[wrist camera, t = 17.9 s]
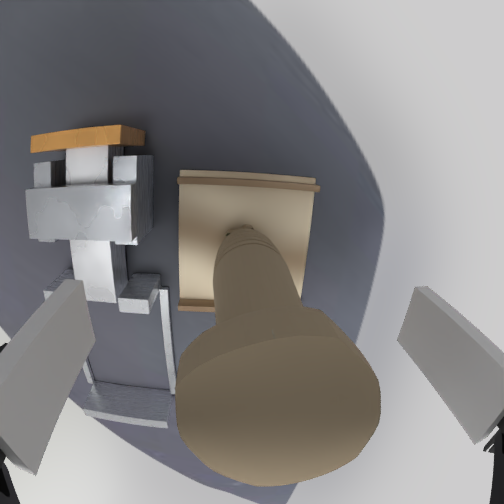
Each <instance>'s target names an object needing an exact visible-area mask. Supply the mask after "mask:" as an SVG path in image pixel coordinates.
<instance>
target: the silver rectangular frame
mask: <svg viewBox="0 0 504 504" xmlns="http://www.w3.org/2000/svg"><path fill="white" fill-rule="evenodd" d="M66 279H73V280H75V275H74V269H67V270H66V271H64V272H63V273H62V274H61V275H60V276H59V277H58V278H56V279H55V280H54V281H53V282H52V283H51V284H50V285H49V286H48V287H46V288H45V289H44V290H43V291H44V296H45V300H46V299H47V298H48V297H49V296H50V295H51V294H52V293H53V292H54V291H55V290H56V289H57V288H58V287H59V286H60V285H61V284H62V283H63V282H64V281H65V280H66ZM159 290H160V303H161V315H162V326H163V336H164V345H165V354H166V362H167V370H168V377H169V384H170V390H162V389H152V388H142V387H134V386H126V385H119V384H113V383H106V382H100V381H95V379H94V376H93V373H92V370H91V367H90V364H89V361H88V357H87V358H86V360H85V362H84V364H83V369H84V372H85V375H86V378H87V381H88V383H92V384H93V386H92V388H91V391H90V393H89V395H88V397H87V400H86V402H85V404H84V407H83V410H84V412H85V415H87V416H91V417H96V418H101V419H106V420H111V421H117V422H123V423H129V424H136V425H143V426H151V427H160V428H168V425H169V418H170V411H171V405H172V398H173V396H172V394H175V385H176V371H175V362H174V353H173V342H172V331H171V318H170V303H169V287H161V281H160V274H144V273H134V275H133V276H132V277H131V279H130V280H129V282H128V283H127V285H126V286H125V288H124V289H123V291H122V292H121V294H120V296H119V297H118V302H119V309H120V312H129V313H141V314H149V313H150V311H151V309H152V306H153V304H154V301H155V299H156V297H157V294H158V292H159Z"/></svg>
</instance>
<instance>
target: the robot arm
mask: <svg viewBox="0 0 504 504" xmlns="http://www.w3.org/2000/svg"><path fill="white" fill-rule="evenodd" d="M95 341H96V340H95V336H94V332H93V328H92V323H91V319H90V315H89V310H88V305H87V300H86V295H85V290H84V284H83V280H73V279H66V280H65V281H64V282H63V283H62V284H61V285H60V286H59V287H58V288H57V289H56V290H55V291H54V292H53V293H52V294H51V295H50V296H49V297H48V298H47V299H46V300H45V302H44V303H43V304H42V305H41V306H40V307H39V308H38V309H37V310H36V311H35V312H34V314H33V315H32V316H31V317H30V318H29V319H28V320H27V322H26V323H25V324H24V325H23V326H22V327H21V329H20V330H19V331H18V332H17V333H16V334H15V336H14V337H13V338H12V339H11V341H10V342H9V343H5V344H4V345H2V346H0V504H20V502H19V500H18V497H17V494H16V492H15V489H14V486H13V483H12V481H11V477H10V474H9V471H8V469H7V467H6V465H5V464H4V463H3V462H4V460H5V457H7V458H8V459H9V460H10V461H11V462H12V463H13V464H14V465H15V466H16V467H17V468H20V469H22V470H24V471H26V472H29V473H31V474H33V475H36V474H37V472H38V469H39V466H40V463H41V460H42V458H43V455H44V452H45V450H46V447H47V445H48V442H49V439H50V437H51V434H52V432H53V430H54V427H55V425H56V422H57V420H58V418H59V415H60V413H61V411H62V409H63V406H64V404H65V402H66V400H67V398H68V395H69V393H70V391H71V389H72V387H73V385H74V383H75V381H76V379H77V376H78V374H79V372H80V370H81V368H82V366H83V364H84V362H85V360H86V358H87V357H88V355H89V353H90V351H91V349H92V347H93V345H94V343H95ZM397 341H398V342H399V343H400V345H401V346H402V347H403V348H404V350H405V351H406V352H407V353H408V355H409V356H410V357H411V358H412V359H413V361H414V362H415V363H416V365H417V366H418V367H419V369H420V370H421V371H422V372H423V374H424V375H425V377H426V378H427V379H428V380H429V382H430V383H431V384H432V386H433V387H434V388H435V390H436V391H437V392H438V394H439V395H440V397H441V398H442V399H443V401H444V402H445V403H446V405H447V406H448V407H449V409H450V410H451V411H452V413H453V414H454V416H455V417H456V418H457V420H458V421H459V423H460V424H461V426H462V427H463V429H464V430H465V431H466V433H467V434H468V436H469V437H470V439H471V440H472V442H473V443H474V444H476V443H478V442H480V441H481V440H483V439H485V438H486V437H487V436H488V435H489V434H490V433H491V432H492V431H493V429H494V428H495V427H496V426H498V428H499V430H498V431H497V432H496V434H495V435H494V436H493V437H492V438H491V439H490V441H489V442H488V443H487V444H486V445H485V447H484V450H483V451H486V450H487V449H488V448H489V447H490V446H491V445H492V444H494V445H493V446H492V447H491V448H490V450H489V452H490V453H494V468H493V481H492V490H491V498H490V504H504V353H503V352H502V351H501V350H500V349H499V348H498V347H497V346H496V345H495V344H494V343H493V342H492V341H491V340H489V339H488V338H487V337H486V336H485V335H484V334H483V333H482V332H480V330H479V329H477V328H476V327H475V326H474V325H473V324H472V323H471V322H469V321H468V320H467V319H466V318H465V317H464V316H462V315H461V314H460V313H459V312H458V311H457V310H456V309H454V308H453V307H452V306H451V305H450V304H448V303H447V302H446V301H445V300H444V299H442V298H441V297H440V296H439V295H438V294H436V293H435V292H434V291H433V290H431V289H430V288H429V287H428V286H425V287H415V288H414V292H413V295H412V298H411V301H410V305H409V308H408V310H407V313H406V316H405V319H404V322H403V325H402V328H401V330H400V333H399V336H398V339H397Z"/></svg>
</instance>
